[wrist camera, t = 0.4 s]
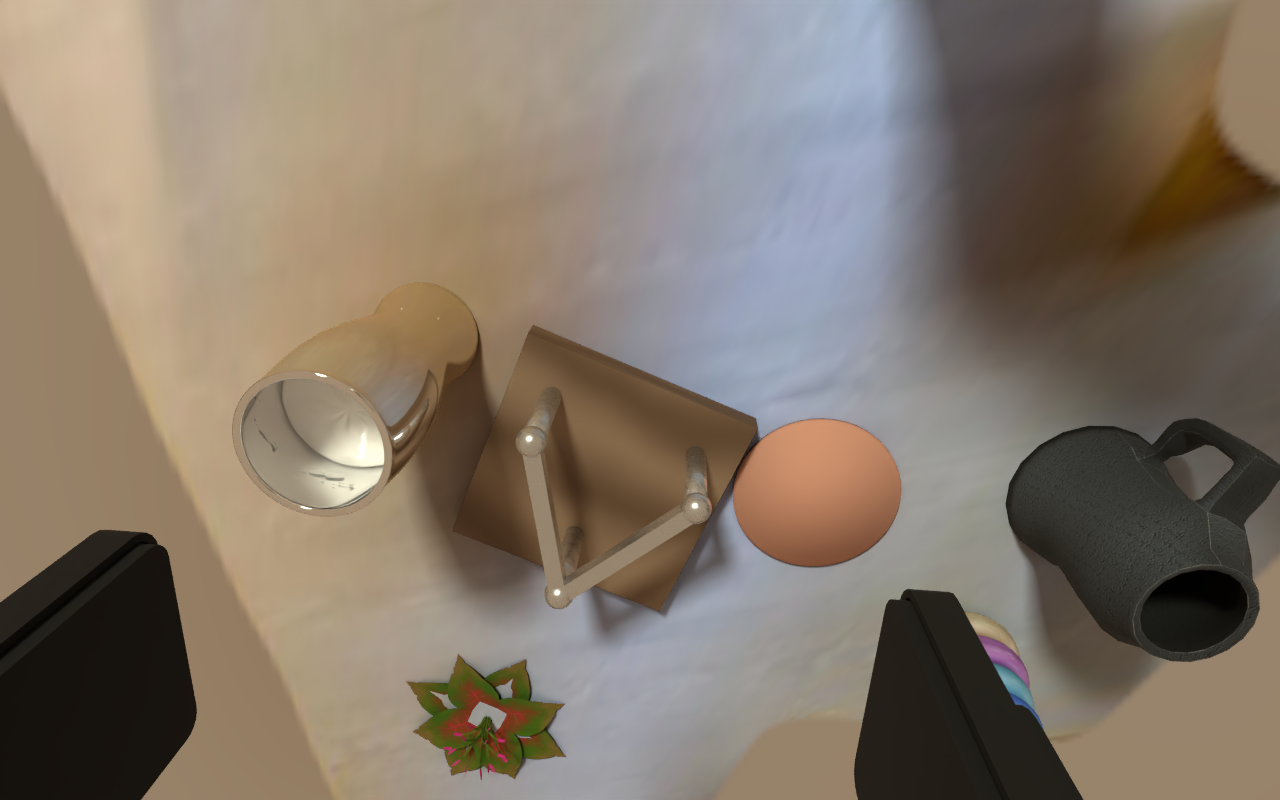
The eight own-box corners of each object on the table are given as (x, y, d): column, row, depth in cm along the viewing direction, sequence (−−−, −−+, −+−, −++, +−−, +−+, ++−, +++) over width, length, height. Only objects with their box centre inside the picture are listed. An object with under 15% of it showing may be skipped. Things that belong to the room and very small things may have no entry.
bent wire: (543, 378, 45) (518, 429, 38) (714, 449, 46) (717, 509, 39) (489, 512, 48) (458, 578, 42) (648, 575, 49) (642, 648, 43)
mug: (1097, 582, 49) (1205, 718, 39) (974, 521, 48) (1051, 644, 38) (1237, 427, 45) (1400, 534, 35) (1104, 356, 44) (1232, 445, 33)
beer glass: (491, 389, 47) (407, 522, 33) (376, 389, 47) (246, 520, 33) (480, 273, 44) (383, 365, 30) (358, 274, 45) (208, 365, 31)
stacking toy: (876, 619, 51) (969, 897, 34) (1003, 592, 50) (1167, 868, 33) (899, 711, 54) (996, 1010, 37) (1020, 688, 53) (1179, 988, 35)
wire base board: (533, 325, 45) (528, 333, 44) (755, 418, 46) (757, 428, 45) (458, 518, 50) (452, 530, 49) (660, 596, 52) (659, 611, 50)
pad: (778, 392, 46) (779, 394, 45) (931, 457, 47) (933, 460, 46) (706, 527, 49) (706, 530, 49) (849, 585, 50) (849, 588, 50)
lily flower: (442, 785, 60) (423, 839, 56) (381, 662, 56) (356, 711, 52) (592, 760, 58) (584, 814, 54) (541, 632, 54) (528, 679, 50)
